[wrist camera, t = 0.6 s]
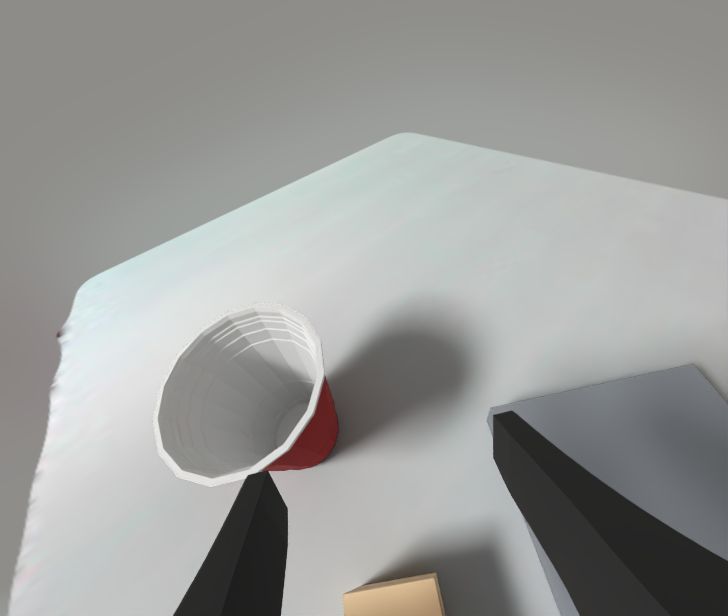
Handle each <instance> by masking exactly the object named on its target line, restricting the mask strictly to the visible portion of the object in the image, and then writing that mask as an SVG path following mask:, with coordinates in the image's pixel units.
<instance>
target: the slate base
mask: <svg viewBox="0 0 728 616" xmlns="http://www.w3.org/2000/svg"><path fill="white" fill-rule="evenodd" d="M511 410H512V411H514V412H515V413H516V414H518V415H519V416H520V417H521V418H522V419H523V420H525V421H526V422H527V423H528V424H529V425H531V426H532V427H533V428H534V429H535V430H537V431H538V432H539V433H540V434H541V435H543V436H544V437H545V438H546V439H548V440H549V441H550V442H551V443H553V444H554V445H555V446H556V447H558V448H559V449H560V450H561V451H563V452H564V453H565V454H567V455H568V456H569V457H570V458H572V459H573V460H574V461H576V462H577V463H578V464H580V465H581V466H582V467H584V468H585V469H586V470H588V471H589V472H590V473H592V474H593V475H594V476H596V477H597V478H598V479H600V480H601V481H603V482H604V483H605V484H607V485H608V486H610V487H611V488H613V489H614V490H615V491H617V492H618V493H620V494H621V495H623V496H624V497H625V498H627V499H628V500H630V501H631V502H633V503H634V504H636V505H637V506H639V507H640V508H642V509H643V510H645V511H646V512H648V513H649V514H651V515H653V516H654V517H656V518H657V519H659V520H660V521H662V522H664V523H665V524H667V525H668V526H670V527H671V528H673V529H675V530H676V531H678V532H680V533H681V534H683V535H685V536H686V537H688V538H690V539H691V540H693V541H695V542H696V543H698V544H699V545H701V546H703V547H704V548H706V549H708V550H710V551H711V552H713V553H715V554H717V555H718V556H720V557H722V558H724V559H726V560H727V561H728V404H727V402H726V401H725V400H724V399H723V398H722V397H721V395H720V394H719V393H718V392H717V391H716V390H715V389H714V387H713V386H712V385H711V384H710V383H709V382H708V380H707V379H706V378H705V377H704V376H703V375H702V374H701V372H700V371H699V370H698V369H697V368H696V367H695V365H694V364H689V365H685V366H680V367H676V368H671V369H666V370H662V371H657V372H653V373H648V374H643V375H639V376H634V377H630V378H625V379H620V380H616V381H611V382H607V383H602V384H597V385H593V386H588V387H584V388H579V389H574V390H570V391H565V392H561V393H556V394H551V395H547V396H542V397H538V398H533V399H528V400H524V401H519V402H515V403H510V404H506V405H501V406H496V407H492V408H491V409H490V412H489V415H488V418H487V423H488V425H489V428H490V431H491V433H492V436H493V415H495V414H499V413H503V412H507V411H511ZM522 515H523V514H522ZM523 517H524V516H523ZM524 520H525V522H526V525H527V528H528V530H529V533H530V535H531V538H532V541H533V543H534V546H535V549H536V551H537V554H538V556H539V559H540V562H541V564H542V567H543V570H544V572H545V575H546V577H547V580H548V583H549V585H550V588H551V591H552V593H553V596H554V598H555V601H556V604H557V606H558V609H559V612H560V614H561V616H580V615H579V613H578V611H577V609H576V607H575V605H574V603H573V601H572V599H571V597H570V595H569V593H568V591H567V589H566V588H565V586H564V584H563V582H562V580H561V579H560V577H559V575H558V573H557V571H556V570H555V568H554V566H553V565H552V563H551V561H550V560H549V558H548V556H547V555H546V553H545V551H544V549H543V548H542V546H541V544H540V543H539V541H538V539H537V538H536V536H535V534H534V533H533V531H532V529H531V528H530V526H529V524H528V523H527V521H526V519H525V518H524Z"/></svg>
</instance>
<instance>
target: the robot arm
mask: <svg viewBox="0 0 728 616" xmlns="http://www.w3.org/2000/svg"><path fill="white" fill-rule="evenodd" d="M493 458H494V460H495V462H496V464H497V467H498V469H499V471H500V473H501V475H502V478H503V480H504V482H505V484H506V486H507V488H508V490H509V492H510V494H511V496H512V497H513V499H514V501H515V502H516V504H517V506H518V507H519V509H520V511H521V513H522V514H523V516H524V518H525V519H526V521H527V523H528V524H529V526H530V528H531V529H532V531H533V533H534V534H535V536H536V538H537V539H538V541H539V543H540V544H541V546H542V548H543V549H544V551H545V553H546V555H547V556H548V558H549V560H550V561H551V563H552V565H553V566H554V568H555V570H556V571H557V573H558V575H559V577H560V579H561V580H562V582H563V584H564V586H565V588H566V589H567V591H568V593H569V595H570V597H571V599H572V601H573V603H574V605H575V607H576V609H577V611H578V613H579V615H580V616H728V561H727V560H726V559H724V558H722V557H720V556H718V555H717V554H715V553H713V552H711V551H710V550H708V549H706V548H704V547H703V546H701V545H699V544H698V543H696V542H695V541H693V540H691V539H690V538H688V537H686V536H685V535H683V534H681V533H680V532H678V531H676V530H675V529H673V528H671V527H670V526H668V525H667V524H665V523H664V522H662V521H660V520H659V519H657V518H656V517H654V516H653V515H651V514H649V513H648V512H646V511H645V510H643V509H642V508H640V507H639V506H637V505H636V504H634V503H633V502H631V501H630V500H628V499H627V498H625V497H624V496H623V495H621V494H620V493H618V492H617V491H615V490H614V489H613V488H611V487H610V486H608V485H607V484H605V483H604V482H603V481H601V480H600V479H598V478H597V477H596V476H594V475H593V474H592V473H590V472H589V471H588V470H586V469H585V468H584V467H582V466H581V465H580V464H578V463H577V462H576V461H574V460H573V459H572V458H570V457H569V456H568V455H567V454H565V453H564V452H563V451H561V450H560V449H559V448H558V447H556V446H555V445H554V444H553V443H551V442H550V441H549V440H548V439H546V438H545V437H544V436H543V435H541V434H540V433H539V432H538V431H537V430H535V429H534V428H533V427H532V426H531V425H529V424H528V423H527V422H526V421H525V420H523V419H522V418H521V417H520V416H519V415H518V414H516V413H515V412H514V411H512V410H511V411H507V412H503V413H499V414H495V415H493ZM287 548H288V508H287V506H286V505H285V503H284V501H283V499H282V497H281V495H280V493H279V491H278V489H277V487H276V485H275V483H274V482H273V480H272V478H271V476H270V474H269V472H268V470H266V471H262V472H258V473H254V474H250V475H248V476H247V477H246V479H245V481H244V483H243V485H242V487H241V489H240V491H239V494H238V496H237V498H236V500H235V502H234V504H233V506H232V508H231V510H230V512H229V514H228V516H227V518H226V520H225V522H224V524H223V526H222V528H221V530H220V532H219V534H218V536H217V538H216V539H215V541H214V543H213V545H212V547H211V549H210V551H209V553H208V555H207V557H206V559H205V560H204V562H203V564H202V566H201V568H200V570H199V571H198V573H197V575H196V577H195V578H194V580H193V582H192V584H191V585H190V587H189V589H188V591H187V592H186V594H185V596H184V598H183V599H182V601H181V603H180V605H179V606H178V608H177V610H176V611H175V613H174V615H173V616H281V608H282V599H283V589H284V579H285V569H286V559H287Z"/></svg>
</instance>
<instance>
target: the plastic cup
mask: <svg viewBox="0 0 728 616" xmlns="http://www.w3.org/2000/svg"><path fill="white" fill-rule="evenodd" d="M152 422H153V427H154V433H155V439H156V444H157V450H158V454H159V455H160V456H161V458H162V459H163V460H164V461H165V462H166V464H167V465H168V466H169V467H170V468H171V470H172V471H173V472H174V473H175V474H176V476H177V477H178V478H181V479H185V480H188V481H192V482H195V483H199V484H202V485H206V486H209V487H213V486H217V485H221V484H225V483H229V482H233V481H237V480H241V479H245V478H246V477H247V476H248V475H250V474H254V473H258V472H260V471H266V470H268V471H286V470H301V469H305V468H310V467H313V466H315V465H317V464H318V463H320V462H321V461H322V460H324V459H325V458H327V456H328V455H329V453H330V452H331V450H332V449H333V447H334V446H335V442H336V439H337V435H338V430H339V429H338V420H337V414H336V411H335V408H334V401H333V398H332V395H331V392H330V389H329V386H328V383H327V380H326V377H325V372H324V363H323V354H322V344H321V340H320V338H319V337H318V335H317V334H316V332H315V331H314V329H313V328H312V326H311V325H310V323H309V321H308V320H307V318H306V317H305V316H303V315H302V314H300V313H298V312H296V311H294V310H292V309H290V308H288V307H287V306H285V305H283V304H267V303H253V304H250V305H247V306H244V307H241V308H237V309H234V310H231V311H228V312H226V313H224V314H223V315H221V316H220V317H218V318H217V319H215V320H214V321H212V322H211V323H209V324H208V325H206V326H205V327H203V328H202V329H200V330H199V331H198V332H197V333H196V334H195V335H194V336H193V338H192V339H191V340H190V341H189V342H188V343H187V344H186V345H185V346H184V347H183V349H182V350H181V351H180V352H179V353H178V354H177V355H176V357H175V359H174V360H173V362H172V364H171V366H170V368H169V370H168V372H167V374H166V376H165V377H164V379H163V381H162V383H161V385H160V387H159V391H158V396H157V401H156V406H155V411H154V416H153V421H152Z"/></svg>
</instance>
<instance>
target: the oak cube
mask: <svg viewBox="0 0 728 616" xmlns="http://www.w3.org/2000/svg"><path fill="white" fill-rule="evenodd" d="M343 604H344V616H446V614H445V609H444V604H443V600H442V595H441V591H440V586H439V582H438V577H437V573H436V572H434V573H428V574H423V575H418V576H412V577H407V578H401V579H396V580H390V581H385V582H380V583H374V584H369V585H363V586H360V587H358V588H356V589H354V590H352V591H349V592H347V593H345V594H343Z"/></svg>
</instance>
